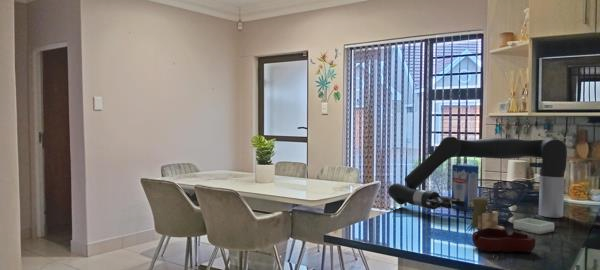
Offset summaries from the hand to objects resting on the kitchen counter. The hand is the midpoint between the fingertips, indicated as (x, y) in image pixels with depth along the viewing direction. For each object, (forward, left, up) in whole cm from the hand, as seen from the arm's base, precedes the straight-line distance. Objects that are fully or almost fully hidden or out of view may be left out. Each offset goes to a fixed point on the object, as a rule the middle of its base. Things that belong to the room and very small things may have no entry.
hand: (457, 205), depth 189 cm
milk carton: (-25, -16, -7) cm, 30 cm away
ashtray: (+22, +33, -7) cm, 40 cm away
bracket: (0, +16, -6) cm, 17 cm away
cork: (0, +10, -7) cm, 12 cm away
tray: (-13, +24, -6) cm, 28 cm away
